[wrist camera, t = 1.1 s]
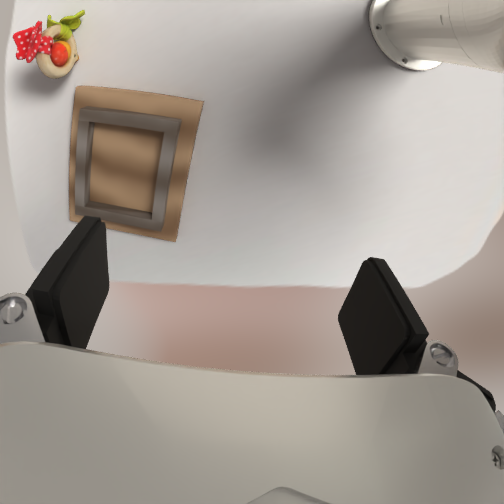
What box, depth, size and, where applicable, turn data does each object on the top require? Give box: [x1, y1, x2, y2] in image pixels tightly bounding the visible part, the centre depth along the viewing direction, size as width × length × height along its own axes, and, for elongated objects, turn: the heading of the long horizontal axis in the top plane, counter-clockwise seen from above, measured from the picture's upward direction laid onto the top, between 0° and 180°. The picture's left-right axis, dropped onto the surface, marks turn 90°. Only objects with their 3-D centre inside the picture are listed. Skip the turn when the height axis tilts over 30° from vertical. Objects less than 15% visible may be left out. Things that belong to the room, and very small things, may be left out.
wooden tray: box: [69, 86, 204, 242], centre depth 38 cm, size 20×17×4 cm
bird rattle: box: [13, 10, 85, 79], centre depth 26 cm, size 6×11×9 cm
